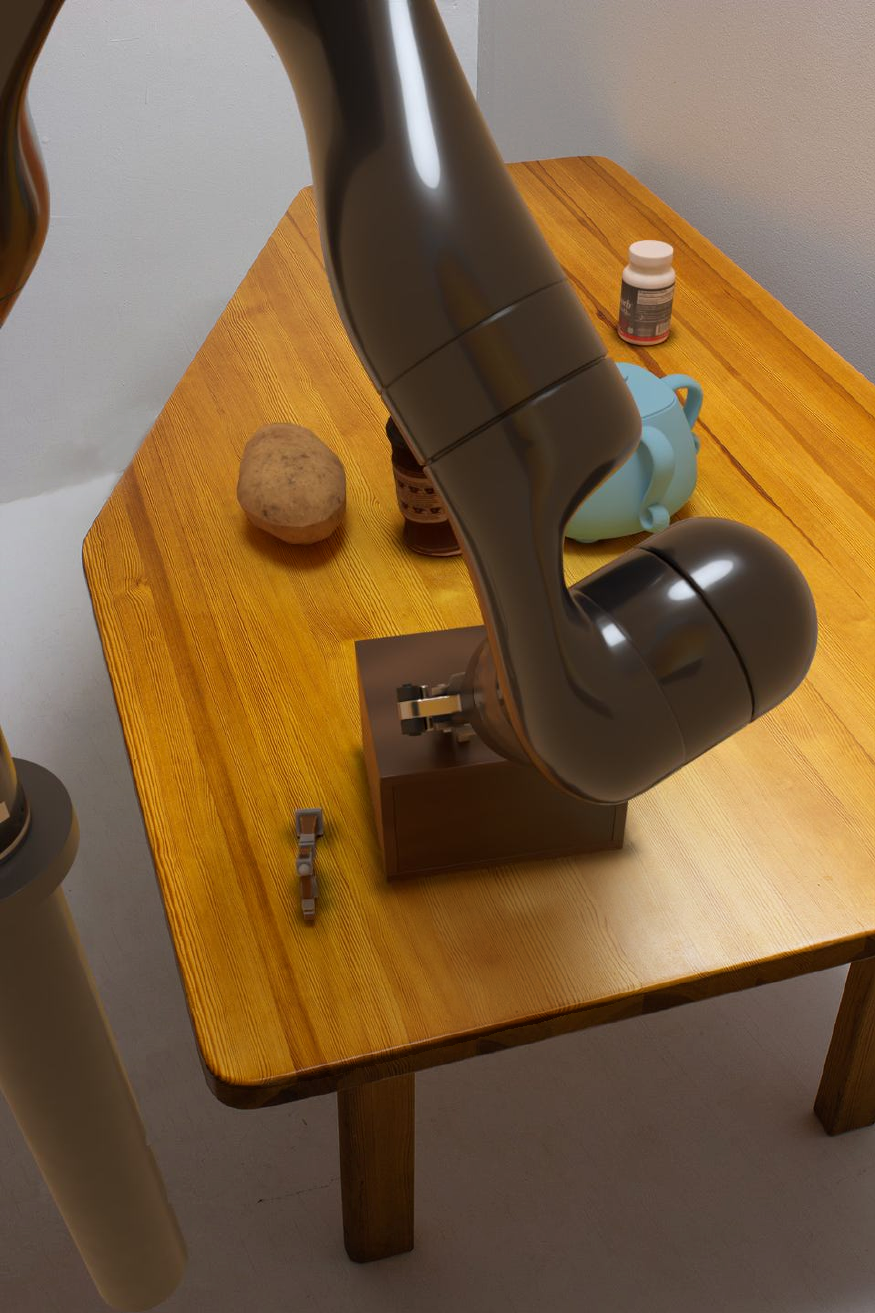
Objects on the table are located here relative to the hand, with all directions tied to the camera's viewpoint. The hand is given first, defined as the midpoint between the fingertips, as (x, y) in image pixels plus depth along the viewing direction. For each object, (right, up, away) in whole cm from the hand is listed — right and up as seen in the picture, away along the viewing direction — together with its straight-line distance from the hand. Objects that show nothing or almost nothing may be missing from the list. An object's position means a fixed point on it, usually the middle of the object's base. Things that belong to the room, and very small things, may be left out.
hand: (498, 702), depth 73 cm
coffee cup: (-4, +13, +33) cm, 36 cm away
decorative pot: (+11, +16, +36) cm, 41 cm away
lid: (0, 0, +3) cm, 3 cm away
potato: (-16, +14, +35) cm, 41 cm away
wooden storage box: (0, -7, +10) cm, 12 cm away
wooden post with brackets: (-12, -11, +5) cm, 17 cm away
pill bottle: (+19, +38, +62) cm, 75 cm away
